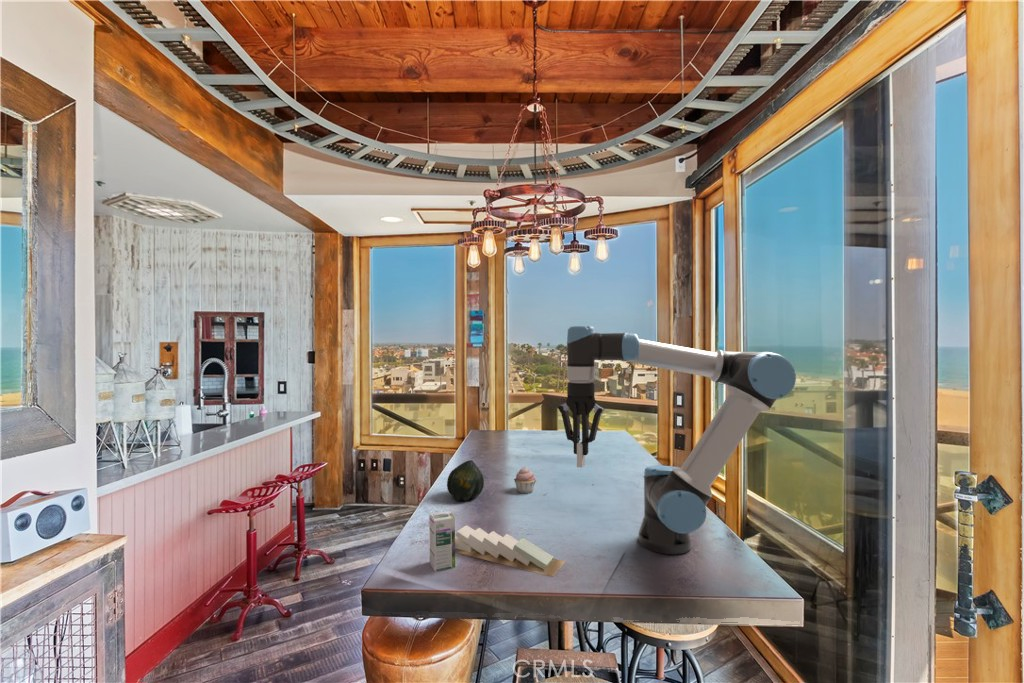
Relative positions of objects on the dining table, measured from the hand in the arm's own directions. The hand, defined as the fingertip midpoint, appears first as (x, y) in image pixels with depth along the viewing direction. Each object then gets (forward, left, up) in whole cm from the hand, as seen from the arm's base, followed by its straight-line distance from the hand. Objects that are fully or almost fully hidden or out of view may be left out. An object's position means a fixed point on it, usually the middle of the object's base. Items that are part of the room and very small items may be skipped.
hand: (581, 466), depth 125 cm
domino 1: (+29, +9, -24) cm, 39 cm away
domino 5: (+11, +9, -24) cm, 28 cm away
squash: (+57, -29, -27) cm, 69 cm away
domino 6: (+6, +9, -24) cm, 27 cm away
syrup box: (+32, +21, -27) cm, 47 cm away
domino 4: (+15, +9, -24) cm, 30 cm away
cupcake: (+39, -46, -27) cm, 66 cm away
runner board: (+18, +9, -26) cm, 33 cm away
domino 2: (+24, +9, -25) cm, 36 cm away
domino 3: (+20, +9, -24) cm, 33 cm away
